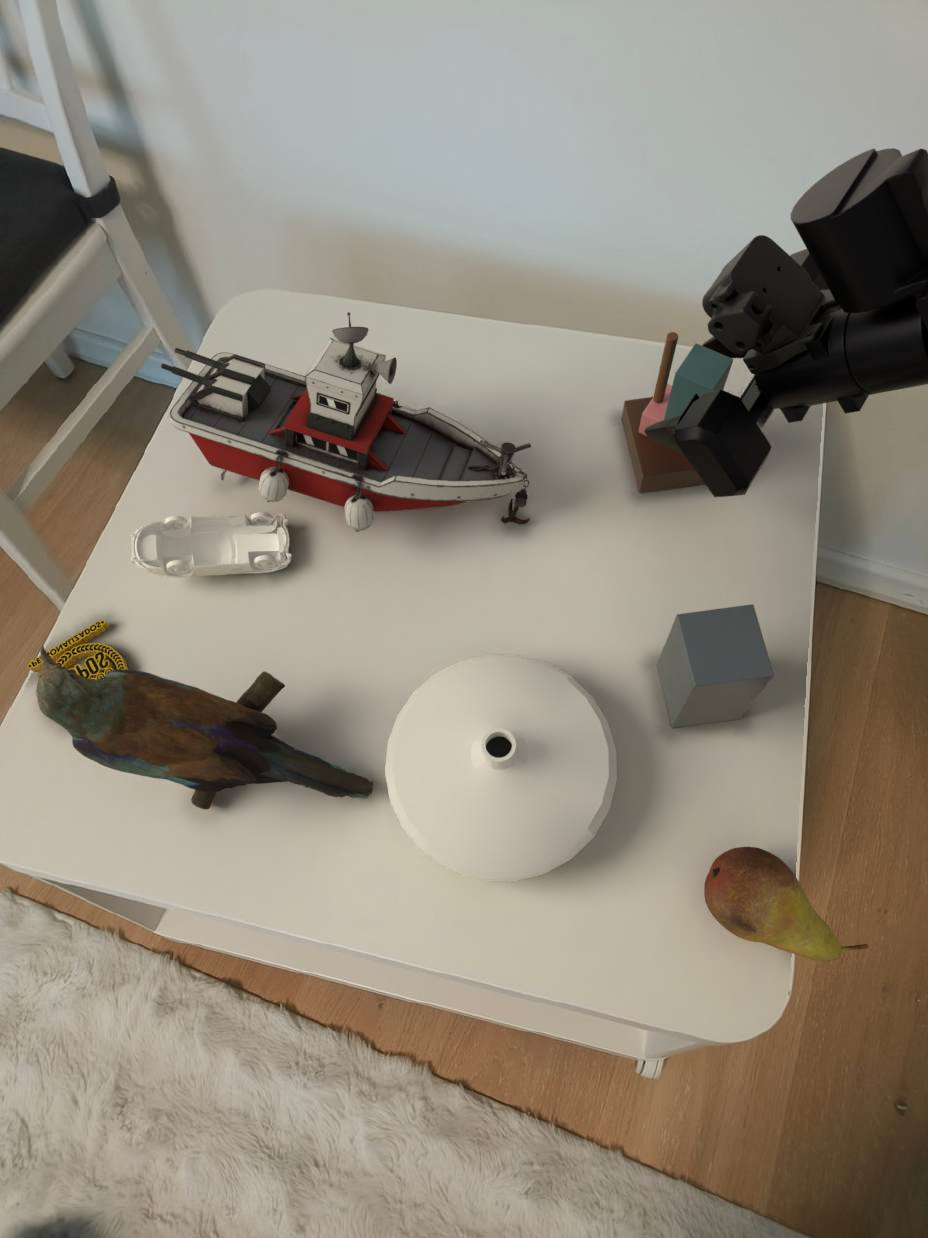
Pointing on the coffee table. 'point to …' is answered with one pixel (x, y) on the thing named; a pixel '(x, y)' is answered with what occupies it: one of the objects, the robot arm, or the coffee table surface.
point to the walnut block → (654, 455)
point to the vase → (501, 767)
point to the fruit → (768, 905)
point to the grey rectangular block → (713, 665)
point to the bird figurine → (183, 733)
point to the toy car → (213, 545)
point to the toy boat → (339, 435)
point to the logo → (84, 654)
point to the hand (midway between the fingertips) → (676, 391)
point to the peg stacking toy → (684, 381)
